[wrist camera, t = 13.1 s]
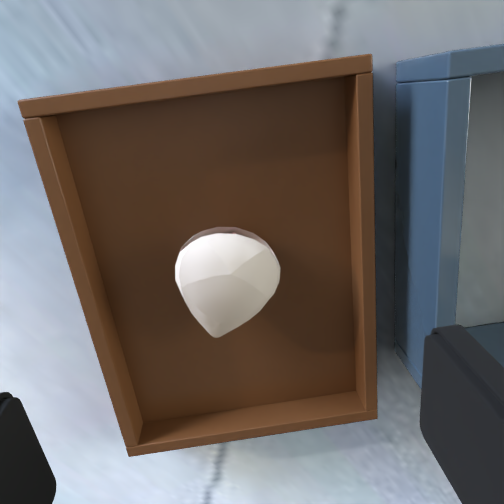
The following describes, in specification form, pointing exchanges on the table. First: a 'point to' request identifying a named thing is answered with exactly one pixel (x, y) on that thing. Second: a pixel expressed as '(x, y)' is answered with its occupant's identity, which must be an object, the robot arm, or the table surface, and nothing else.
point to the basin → (434, 196)
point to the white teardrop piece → (226, 277)
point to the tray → (221, 215)
